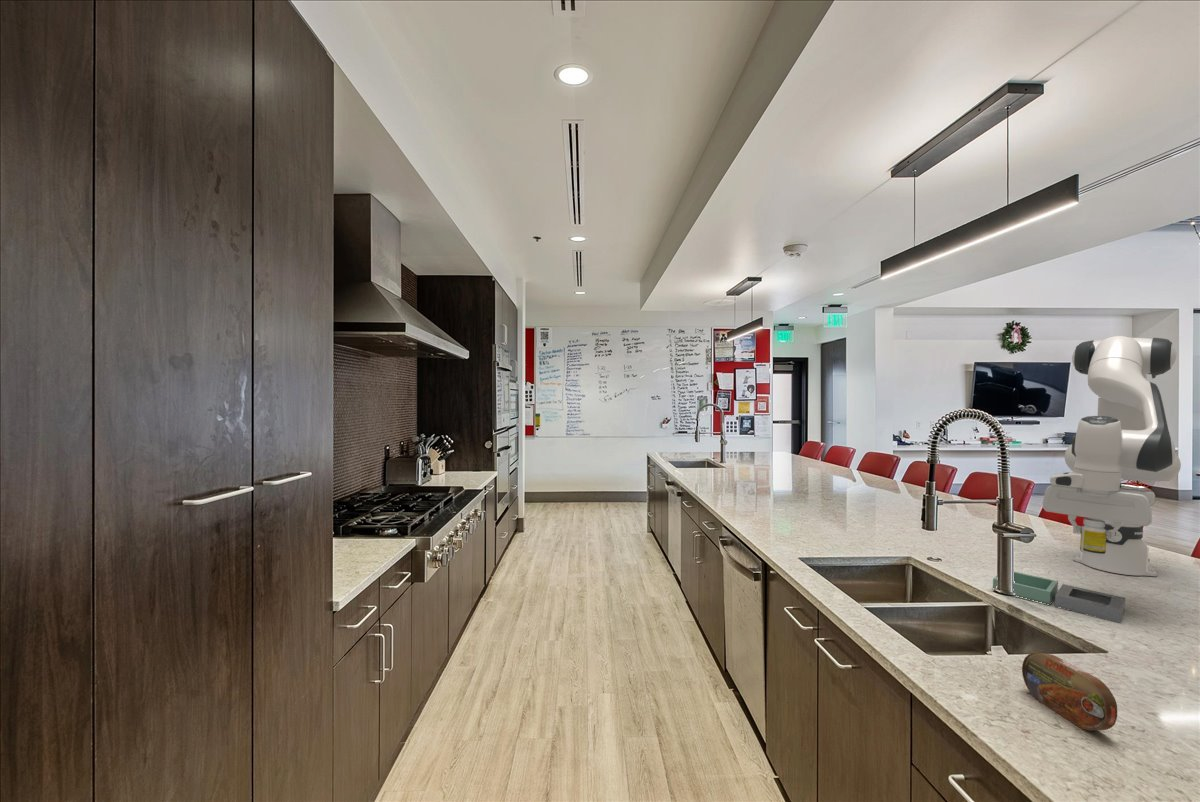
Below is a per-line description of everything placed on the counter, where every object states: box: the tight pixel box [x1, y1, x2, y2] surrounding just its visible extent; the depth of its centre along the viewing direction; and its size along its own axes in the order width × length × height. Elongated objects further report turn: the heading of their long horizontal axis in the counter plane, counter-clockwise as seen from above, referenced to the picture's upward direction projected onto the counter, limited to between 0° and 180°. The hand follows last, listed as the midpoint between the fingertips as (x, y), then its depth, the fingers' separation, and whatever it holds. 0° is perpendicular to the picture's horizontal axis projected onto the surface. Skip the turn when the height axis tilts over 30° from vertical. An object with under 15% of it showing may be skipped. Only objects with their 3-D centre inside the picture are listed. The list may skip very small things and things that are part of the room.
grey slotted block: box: [1054, 583, 1126, 624], centre depth 137 cm, size 12×12×3 cm
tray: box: [992, 571, 1059, 606], centre depth 146 cm, size 12×12×4 cm
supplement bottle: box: [1079, 517, 1106, 556], centre depth 136 cm, size 5×5×8 cm
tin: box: [1021, 652, 1118, 732], centre depth 92 cm, size 15×3×8 cm, turn 5°
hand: (1093, 535), depth 136 cm, fingers closed on supplement bottle, 5 cm apart
